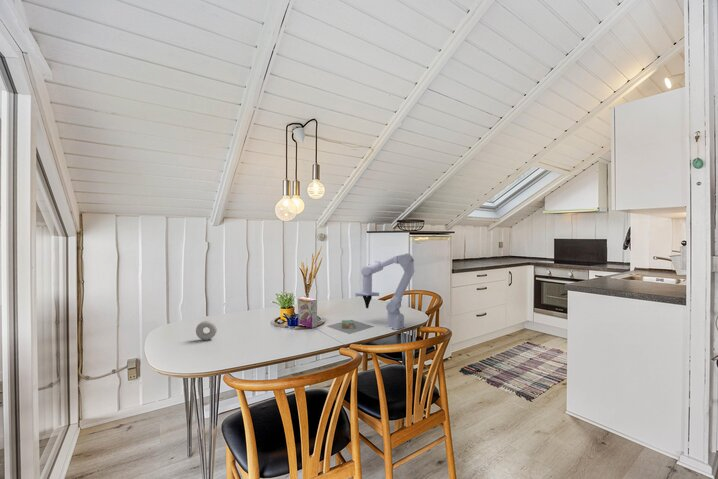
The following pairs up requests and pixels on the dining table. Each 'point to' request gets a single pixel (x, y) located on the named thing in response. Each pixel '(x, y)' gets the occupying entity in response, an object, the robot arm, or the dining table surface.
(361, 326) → the rubber mat
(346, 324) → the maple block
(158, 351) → the dining table surface
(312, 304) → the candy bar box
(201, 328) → the donut
